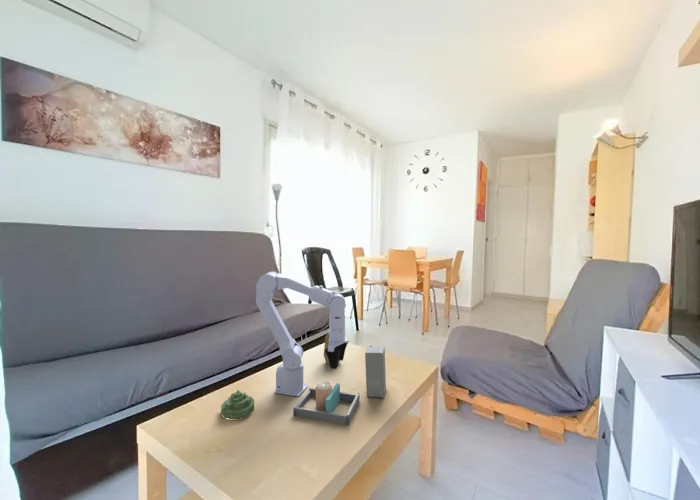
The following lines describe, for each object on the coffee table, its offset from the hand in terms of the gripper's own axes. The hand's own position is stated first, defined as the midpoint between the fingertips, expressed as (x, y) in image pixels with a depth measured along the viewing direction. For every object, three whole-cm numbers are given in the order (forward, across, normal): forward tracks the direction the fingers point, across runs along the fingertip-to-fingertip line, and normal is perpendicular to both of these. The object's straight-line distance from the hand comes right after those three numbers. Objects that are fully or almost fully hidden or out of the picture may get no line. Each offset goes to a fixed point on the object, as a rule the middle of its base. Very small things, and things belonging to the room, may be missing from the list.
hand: (337, 364), depth 116 cm
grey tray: (+9, -13, -1) cm, 16 cm away
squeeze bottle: (+10, +22, +9) cm, 26 cm away
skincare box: (+10, +2, -14) cm, 17 cm away
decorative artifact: (+10, -22, +26) cm, 36 cm away
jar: (+9, -13, 0) cm, 16 cm away
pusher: (+9, -13, -3) cm, 16 cm away
